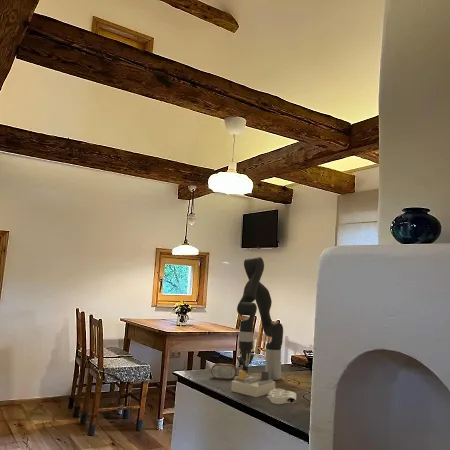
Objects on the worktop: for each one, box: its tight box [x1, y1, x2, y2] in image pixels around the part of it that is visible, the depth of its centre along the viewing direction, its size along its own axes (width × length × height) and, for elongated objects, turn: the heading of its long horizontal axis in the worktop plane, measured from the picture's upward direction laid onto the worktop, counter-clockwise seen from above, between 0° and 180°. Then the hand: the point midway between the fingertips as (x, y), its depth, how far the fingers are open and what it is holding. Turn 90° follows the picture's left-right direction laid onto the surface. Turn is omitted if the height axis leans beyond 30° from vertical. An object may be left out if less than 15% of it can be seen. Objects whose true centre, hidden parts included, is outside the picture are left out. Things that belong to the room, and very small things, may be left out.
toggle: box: [260, 370, 270, 381], centre depth 236 cm, size 3×4×5 cm
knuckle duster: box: [266, 388, 297, 405], centre depth 222 cm, size 3×18×15 cm
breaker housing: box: [230, 373, 276, 398], centre depth 235 cm, size 17×16×6 cm
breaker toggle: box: [237, 369, 247, 382], centre depth 235 cm, size 3×4×5 cm
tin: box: [210, 362, 238, 380], centre depth 262 cm, size 15×3×8 cm, turn 84°
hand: (245, 373), depth 237 cm, fingers closed
